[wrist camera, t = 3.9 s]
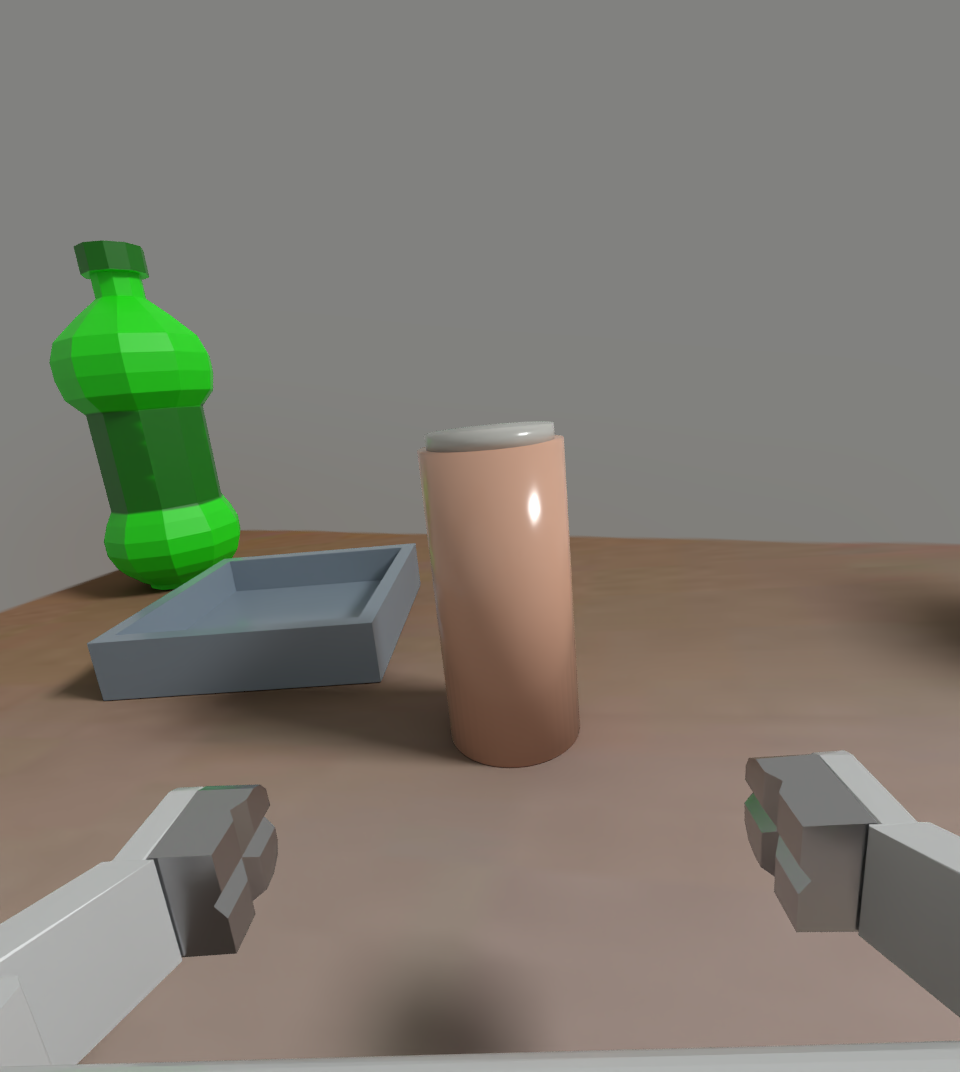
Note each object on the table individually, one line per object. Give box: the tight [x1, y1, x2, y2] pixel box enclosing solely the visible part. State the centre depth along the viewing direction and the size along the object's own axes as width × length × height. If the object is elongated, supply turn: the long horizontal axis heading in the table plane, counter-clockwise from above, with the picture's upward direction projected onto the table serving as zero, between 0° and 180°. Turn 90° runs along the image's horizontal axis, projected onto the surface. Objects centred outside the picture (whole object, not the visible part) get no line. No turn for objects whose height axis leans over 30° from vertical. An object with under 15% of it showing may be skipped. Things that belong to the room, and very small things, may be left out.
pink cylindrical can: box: [417, 421, 580, 768], centre depth 21 cm, size 5×5×12 cm
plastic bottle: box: [50, 241, 240, 590], centre depth 44 cm, size 10×10×25 cm
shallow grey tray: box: [87, 543, 420, 701], centre depth 33 cm, size 14×14×3 cm
